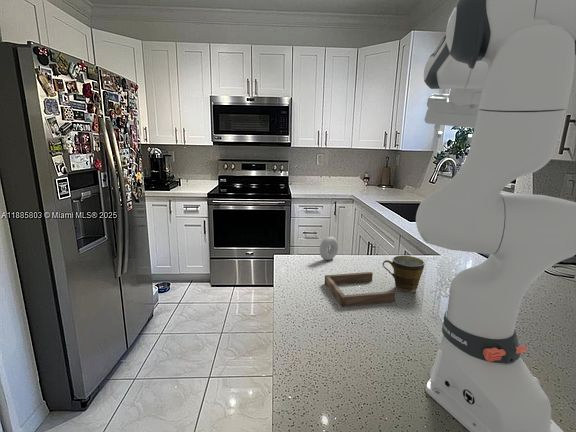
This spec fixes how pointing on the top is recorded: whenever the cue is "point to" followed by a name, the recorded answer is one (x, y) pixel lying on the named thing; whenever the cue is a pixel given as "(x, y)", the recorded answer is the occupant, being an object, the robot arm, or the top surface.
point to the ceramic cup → (406, 272)
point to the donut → (324, 248)
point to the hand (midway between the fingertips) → (453, 139)
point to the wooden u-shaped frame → (356, 298)
